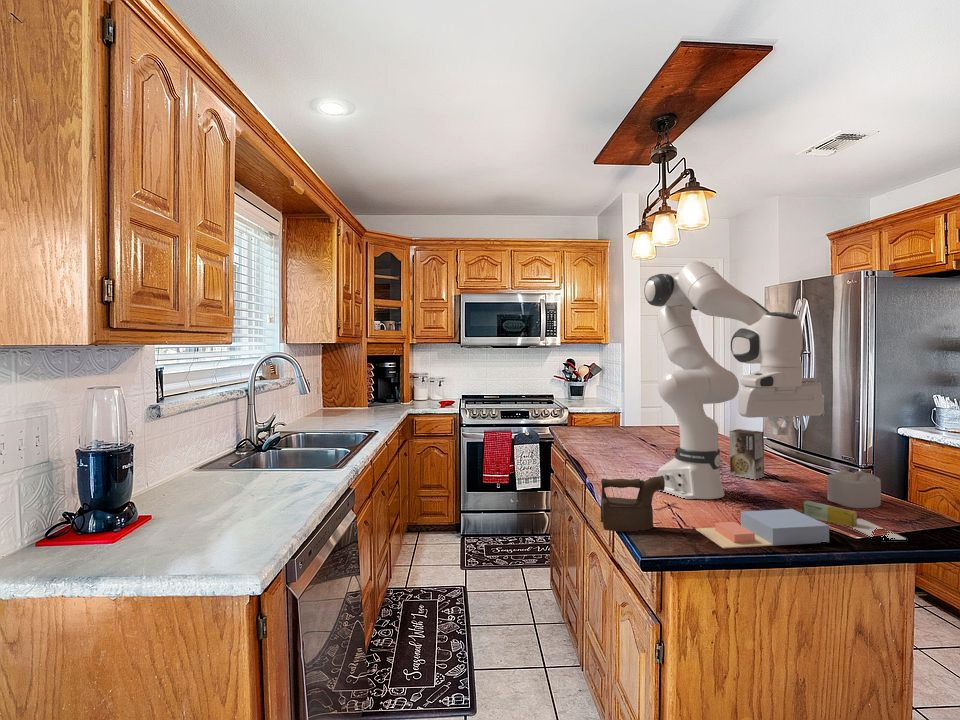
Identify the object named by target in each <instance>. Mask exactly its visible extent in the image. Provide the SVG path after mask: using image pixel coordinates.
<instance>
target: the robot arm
mask: <svg viewBox="0 0 960 720" xmlns="http://www.w3.org/2000/svg"><path fill="white" fill-rule="evenodd" d="M643 293H644V297H645V300H646V301H647V303H648V304H649V305H650V306H653V307H660V308H661V309H659V311H658V313H657V325H658V330H659V331H658V332H659V333H660V337H661V341H662V343H663V345H664V349H665V352H666V355H667V357H668V359H669V361H670V362H671V363H673V364H674V365H676V366H677V367H680V368H681V369H677V370H674V371H669V372H665V373H664V374H663V375H662V376H661V378H660V379H659V382H658V387H657V388H658V392H659V395H660V396H659V397H661V398H662V400H663V401H664V402H665V403H667V405H668V406H669V407H671V409H672V410H673V412H674V414H675V416H676V418H677V421H678V429H679V446H678V447H676V448H675V449H673V450H672V452H671V453H672V454H675V455H674V458H672V459H670V460H669V461H668V462H666V463H664V464H663V465H661V466H660V467H659V468H658V470H657V472H656V476H655V477H658V476H663V477H664V480H665V488H664V491H663V492H666V493H665V494H667V493H669V494H668V495H670V494H672V495H671V496H673V495H675V496H674V497H677V496H678V497H677V498H680V497H681V499H683V498H685V499H684V500H696V499H697V500H698V499H699V500H714V499H720V498H723V497H725V495H726V494H725V491H724V489H723V484H722V480H721V479H722V478H721V471H720V470H721V469H720V468H721V449H720V448H719V425H718V423H717V422H716V421H715V420H714V419H712V417H709V416H708V415H707V414H706V412H705V409H704V405H710V404H711V405H712V404H722V403H726V402H729V401H731V400H734V399H735V397H737V398H738V399H737V413H738V414H739V415H740V416H741V417H744V418H750V419H751V418H754V419H755V418H767V421H768V423H769V425H770V426H771V427H772V435H775V436H786V435H787V436H788V435H789V431H790V430H789V429H790V427H791V426H792V424H793V422H794V417H811V416H812V417H814V416H817V417H818V416H821V415H822V414H823V413H824V410H825V406H824V404H825V403H824V397H823V392H822V382H820V380H819V379H817V378H816V377H803V362H802V359H801V357H802V356H803V355H804V353H805V350H806V339H805V336H804V334H803V328H802V323H801V320H800V318H799V316H798V315H796V314H794V313H791V312H780V311H772V312H771V311H769V310H767V308H766V307H764V305H762V304H760V302H757V300H755V299H753V298H751V297H750V296H749V295H747V294H745V293H743V292H742V291H741V290H739V289H737V288H736V287H735V286H733V285H732V284H731V283H730V282H728V281H727V280H726V279H724V277H722V275H720V273H718V272H717V271H716V270H715V269H714V268H713V267H712V266H709V265H708V264H706V263H704V262H702V261H698V260H697V261H691V262H689V263H687V264H685V265H684V266H683V267H682V268H681V269H680V271H678V272H669V273H658V274H655V275H652V276H650V277H648V279H647V280H646V281H645V284H644V292H643ZM692 310H693V311H699V312H700V313H702V314H703V315H706V316H709V317H716V318H725V319H731V320H736V321H739V322H742V323H744V324H746V325H747V326H746V327H743V328H738V329H737V330H736V331H735V333H733V336H732V337H731V340H730V351H731V354H732V356H733V358H735V360H736V361H738V362H739V363H743V364H759V365H760V370H758V371H754V372H753V373H750V374H745V375H742V376H741V378H740V383H739V380H738V378H737V376H736V375H735V373H734V372H732V371H730V370H728V369H727V368H725V367H723V366H722V365H720V364H719V363H718V362H717V361H716V360H715V359H714V358H713V357H712V356H711V354H709V352H708V351H707V349H706V348H705V346H704V344H703V342H702V340H701V337H700V335H699V333H698V330H697V327H696V326H695V323H694V321H693V319H692V318H693V317H692ZM740 385H741V386H742V387H740ZM737 395H738V396H737ZM780 418H781V419H782V420H783V422H782V424H781V426H780V425H779V423H778V422H779V421H780ZM658 492H660V490H659V491H658ZM663 492H662V493H663Z"/></svg>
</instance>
